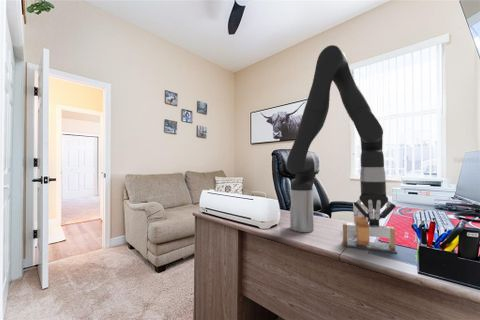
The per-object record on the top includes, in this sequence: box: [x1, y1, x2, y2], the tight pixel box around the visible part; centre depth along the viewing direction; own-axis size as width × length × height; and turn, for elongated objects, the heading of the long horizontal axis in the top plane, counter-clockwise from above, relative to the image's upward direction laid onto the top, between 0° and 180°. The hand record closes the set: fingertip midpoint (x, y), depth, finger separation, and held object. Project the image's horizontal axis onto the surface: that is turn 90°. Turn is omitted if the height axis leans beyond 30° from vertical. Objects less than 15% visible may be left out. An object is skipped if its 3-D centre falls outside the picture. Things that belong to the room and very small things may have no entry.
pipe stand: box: [342, 222, 398, 254], centre depth 71 cm, size 15×6×7 cm, turn 66°
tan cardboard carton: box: [355, 216, 370, 245], centre depth 72 cm, size 3×10×7 cm, turn 156°
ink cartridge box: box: [352, 202, 368, 224], centre depth 89 cm, size 9×5×15 cm, turn 148°
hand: (374, 229), depth 74 cm, fingers closed
